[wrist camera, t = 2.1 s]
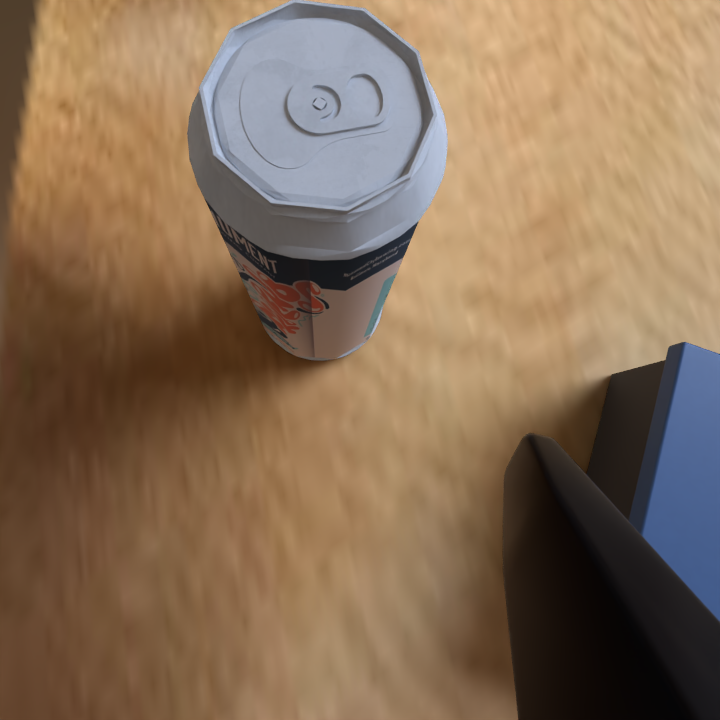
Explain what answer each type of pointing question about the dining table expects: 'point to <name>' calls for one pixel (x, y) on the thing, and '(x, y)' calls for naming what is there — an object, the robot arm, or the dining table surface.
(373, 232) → the beer can
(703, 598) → the container
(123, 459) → the dining table surface
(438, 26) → the dining table surface
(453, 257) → the dining table surface
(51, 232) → the dining table surface
